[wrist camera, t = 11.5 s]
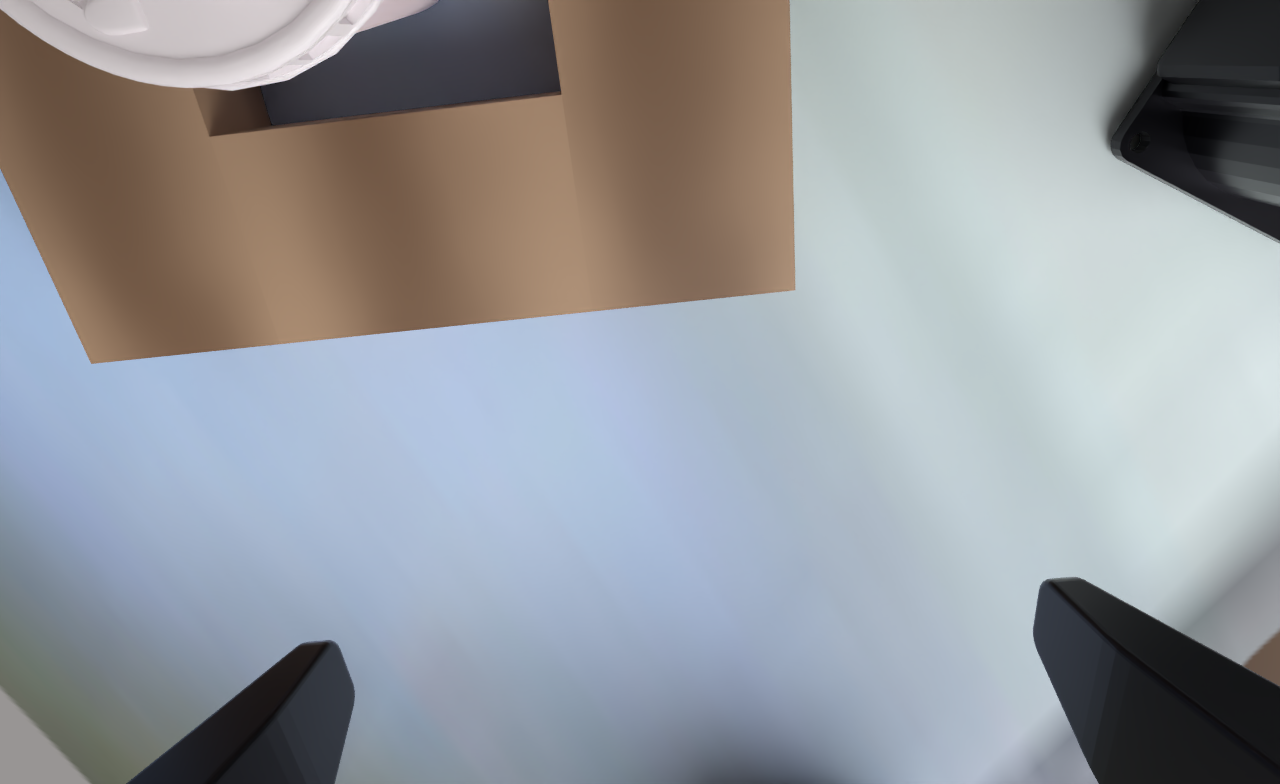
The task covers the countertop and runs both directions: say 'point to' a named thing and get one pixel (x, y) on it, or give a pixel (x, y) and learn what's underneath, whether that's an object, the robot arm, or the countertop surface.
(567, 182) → the hole board
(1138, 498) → the countertop surface
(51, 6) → the smoothie
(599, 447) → the countertop surface
